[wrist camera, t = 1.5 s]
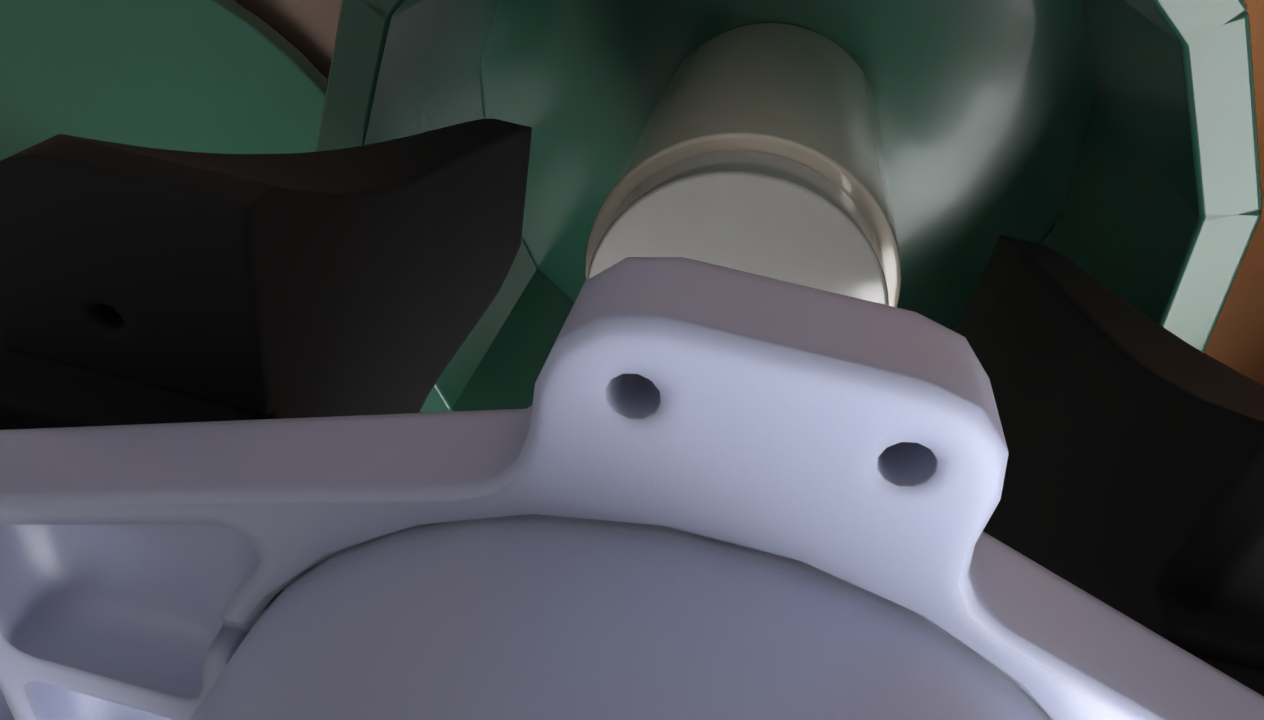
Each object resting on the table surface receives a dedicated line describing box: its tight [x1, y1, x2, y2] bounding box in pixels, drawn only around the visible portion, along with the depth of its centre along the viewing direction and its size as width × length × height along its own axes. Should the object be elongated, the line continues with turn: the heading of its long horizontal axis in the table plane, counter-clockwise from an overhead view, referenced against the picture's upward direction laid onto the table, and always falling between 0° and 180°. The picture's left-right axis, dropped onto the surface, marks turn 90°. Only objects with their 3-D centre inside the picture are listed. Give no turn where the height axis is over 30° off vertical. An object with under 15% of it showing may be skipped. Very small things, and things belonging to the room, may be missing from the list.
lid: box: [0, 0, 328, 346], centre depth 20 cm, size 14×14×6 cm
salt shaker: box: [585, 23, 901, 308], centre depth 14 cm, size 4×4×7 cm
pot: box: [316, 0, 1262, 413], centre depth 15 cm, size 13×13×6 cm
